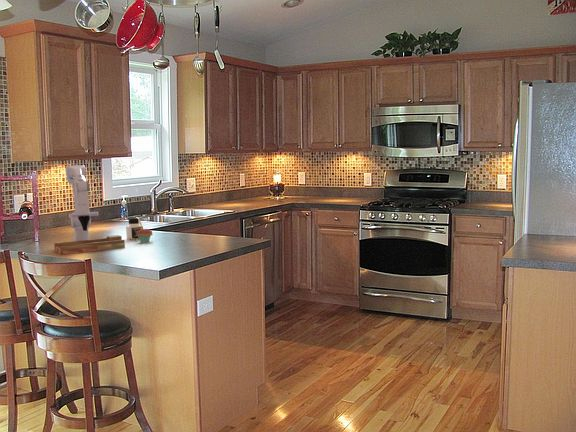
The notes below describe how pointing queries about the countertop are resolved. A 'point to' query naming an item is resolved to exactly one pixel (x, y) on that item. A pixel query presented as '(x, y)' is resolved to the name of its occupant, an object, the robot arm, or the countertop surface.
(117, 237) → the walnut block
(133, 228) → the medicine bottle
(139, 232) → the cupcake
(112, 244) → the box
